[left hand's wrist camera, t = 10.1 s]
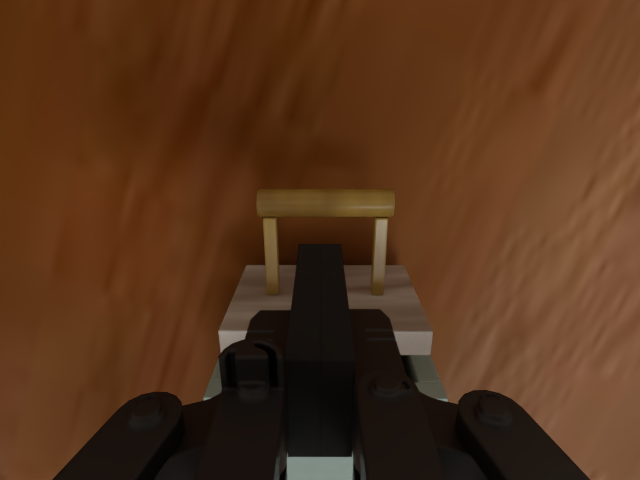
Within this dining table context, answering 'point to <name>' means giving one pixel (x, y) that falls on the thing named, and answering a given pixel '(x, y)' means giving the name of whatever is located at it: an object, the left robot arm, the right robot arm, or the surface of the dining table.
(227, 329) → the drawer
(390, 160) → the dining table surface
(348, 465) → the cabinet
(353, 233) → the dining table surface
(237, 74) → the dining table surface
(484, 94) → the dining table surface
